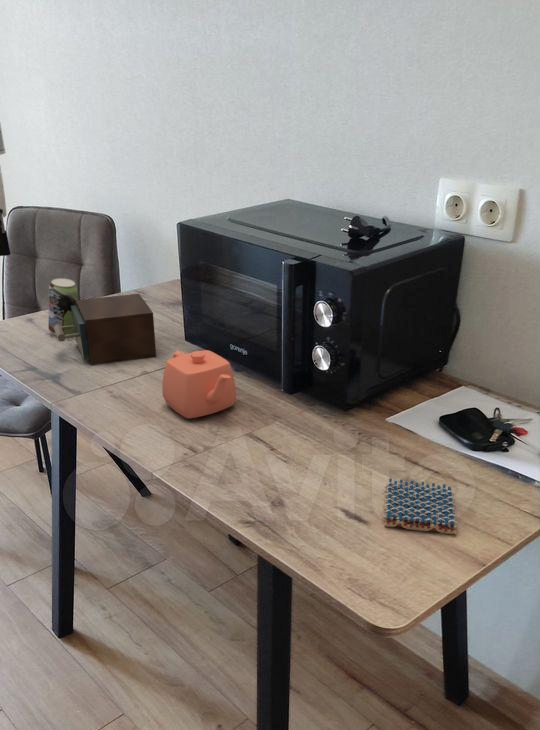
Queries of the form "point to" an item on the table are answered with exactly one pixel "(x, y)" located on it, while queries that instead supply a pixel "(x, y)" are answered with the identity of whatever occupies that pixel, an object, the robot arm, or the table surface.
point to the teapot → (198, 383)
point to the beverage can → (62, 303)
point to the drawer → (78, 330)
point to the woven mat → (420, 507)
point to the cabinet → (118, 328)
